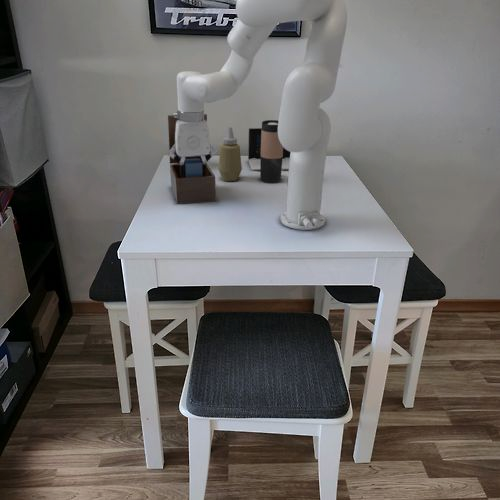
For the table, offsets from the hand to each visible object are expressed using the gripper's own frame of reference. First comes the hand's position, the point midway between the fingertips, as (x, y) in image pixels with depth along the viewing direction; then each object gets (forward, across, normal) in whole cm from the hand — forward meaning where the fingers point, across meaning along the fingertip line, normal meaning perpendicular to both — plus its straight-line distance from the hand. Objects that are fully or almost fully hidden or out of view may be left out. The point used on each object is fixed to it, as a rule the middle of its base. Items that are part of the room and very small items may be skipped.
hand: (193, 175), depth 147 cm
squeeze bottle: (+7, +15, +15) cm, 23 cm away
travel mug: (+7, +29, +11) cm, 32 cm away
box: (+7, 0, +3) cm, 8 cm away
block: (0, 0, 0) cm, 0 cm away
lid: (-9, 0, +9) cm, 13 cm away
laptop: (+7, +35, +27) cm, 45 cm away
